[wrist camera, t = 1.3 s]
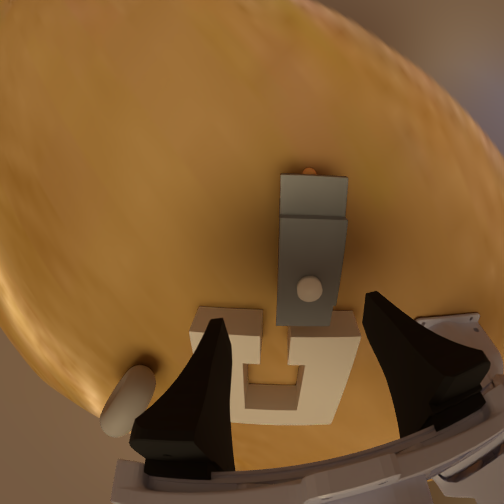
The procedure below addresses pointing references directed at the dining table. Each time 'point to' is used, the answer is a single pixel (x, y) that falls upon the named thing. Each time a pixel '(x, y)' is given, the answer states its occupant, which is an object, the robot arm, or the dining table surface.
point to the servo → (310, 247)
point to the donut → (128, 401)
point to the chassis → (299, 353)
